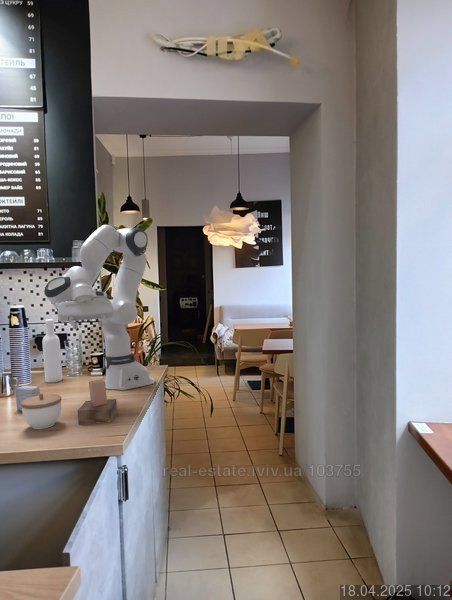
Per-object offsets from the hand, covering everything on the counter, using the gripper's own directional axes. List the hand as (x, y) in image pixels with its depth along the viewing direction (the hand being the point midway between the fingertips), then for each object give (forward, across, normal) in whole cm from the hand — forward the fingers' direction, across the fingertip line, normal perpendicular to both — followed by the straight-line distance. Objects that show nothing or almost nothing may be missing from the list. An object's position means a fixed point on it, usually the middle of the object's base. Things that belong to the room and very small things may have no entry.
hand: (88, 326), depth 157 cm
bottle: (-18, -10, +63) cm, 67 cm away
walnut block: (+30, 0, +15) cm, 33 cm away
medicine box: (+12, -22, +33) cm, 41 cm away
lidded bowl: (+28, -18, +17) cm, 37 cm away
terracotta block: (+26, 0, +12) cm, 28 cm away
